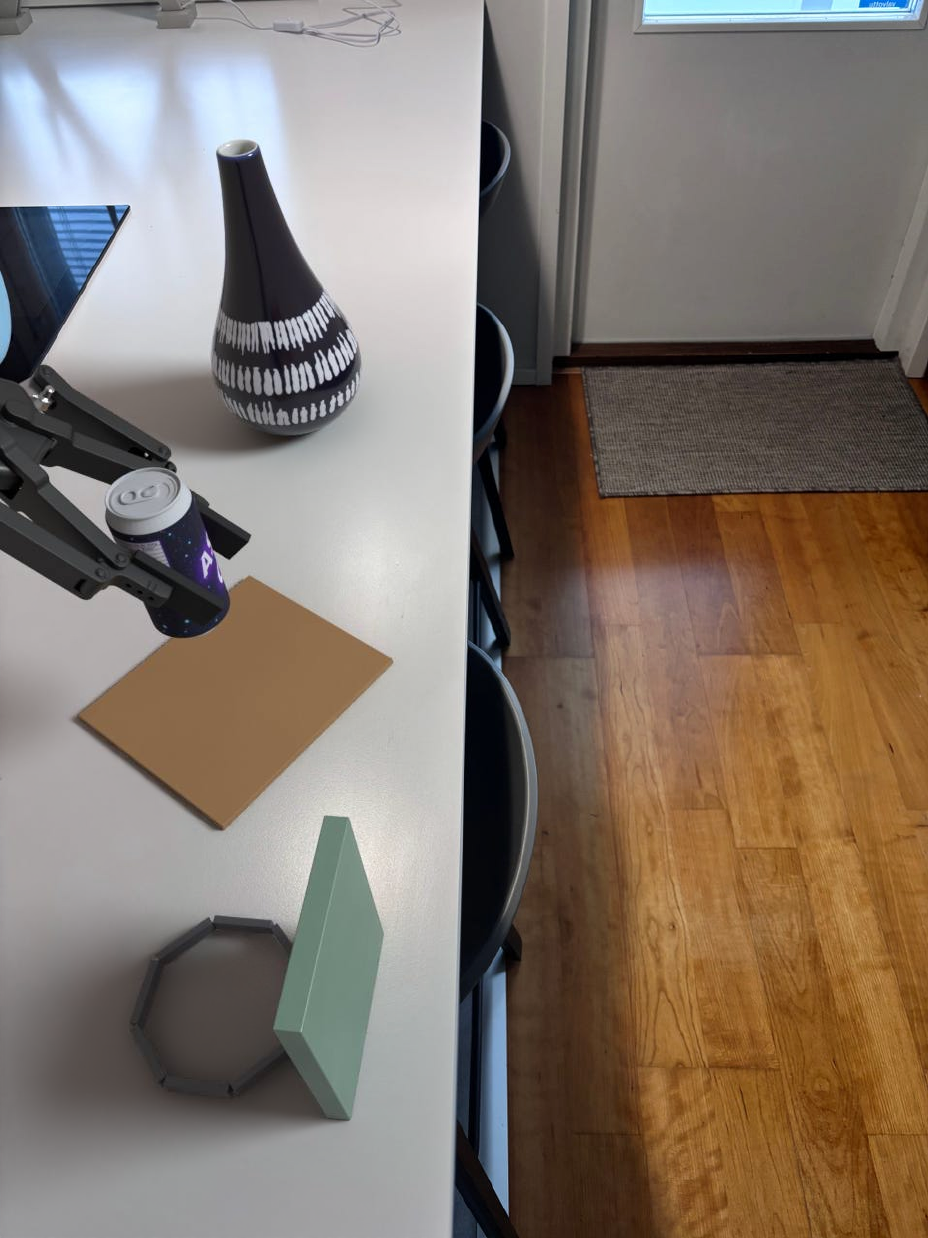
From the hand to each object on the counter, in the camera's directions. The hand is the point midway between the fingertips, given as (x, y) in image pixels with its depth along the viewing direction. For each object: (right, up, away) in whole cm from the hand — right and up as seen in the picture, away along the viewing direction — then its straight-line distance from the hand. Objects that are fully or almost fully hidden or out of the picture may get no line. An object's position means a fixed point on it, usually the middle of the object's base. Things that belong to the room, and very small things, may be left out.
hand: (227, 579), depth 66 cm
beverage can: (-3, -3, +4) cm, 6 cm away
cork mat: (-3, -9, +16) cm, 18 cm away
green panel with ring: (+3, -29, -2) cm, 29 cm away
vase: (-2, +20, +42) cm, 46 cm away
